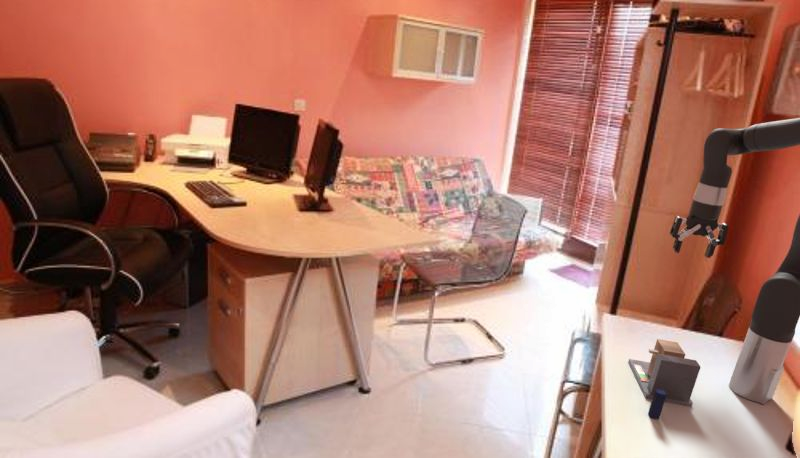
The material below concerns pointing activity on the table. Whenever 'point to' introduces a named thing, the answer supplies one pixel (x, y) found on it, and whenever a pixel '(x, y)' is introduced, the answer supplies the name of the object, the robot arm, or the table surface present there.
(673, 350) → the block
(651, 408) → the eraser
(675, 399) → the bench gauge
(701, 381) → the table surface
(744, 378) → the robot arm
